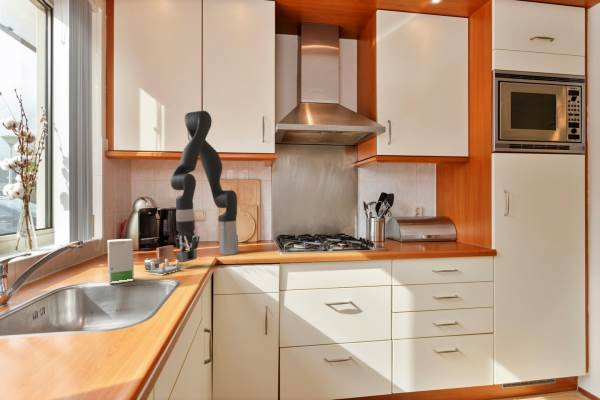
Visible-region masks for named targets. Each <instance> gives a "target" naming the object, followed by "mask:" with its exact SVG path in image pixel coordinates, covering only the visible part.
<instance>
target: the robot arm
mask: <svg viewBox="0 0 600 400" xmlns="http://www.w3.org/2000/svg"><path fill="white" fill-rule="evenodd" d="M212 121H213V120H212V117H211V114H210V113H209V112H208V111H206V110H198V111H191V112H187V113H186V114H185V115H184V124H185V127H186V129H187V132H188V134H189V136H190V138H191V140H189V142H188V143H187V144H186V146H185V147H184V148H183V151H182V153H181V156H180V161H179V163H178V165H177V166H176V169H175V170H174V171H173V173H172V175H171V178H170V186H171V188H172V189H173V190H175V191H183V193H182V195H179V196H177V197H175V210H176V211H175V218H176V219H175V222H176V231H177V232H178V233H177V235H174V236H173V239H174V243H175V245H176V249H177V250H179V251H180V252H182V251H186V250H188V258H189V260H190V261H192V260H191V259H193V258H194V250H197V249H198V246H199V242H200V238H201V237H200V236H199V235H195V232H194V231H195V229H196V228H195V227H196V225H195V223H196V221H195V212H194V201H193V200H194V196H195V192H196V186H197V180H196V178H195V176H194V175H193V174H191V172H192V173H193V172H194V171H195V170H196V167H197V163H198V160H200V162H201V165H202V168H203V170H204V172H205V175H206V179H207V181H208V183H209V187H210V192H211V195H212V200H213V202H214V205H215V207H217V208H219V209H225V212H223V213H222V214H219V215H218V218H217V221H218V225H217V226H218V245H219V247H218V248H219V249H218V250H219V251H218V252H219V255H221V256H230V255H231V256H232V255H236V254H238V253H239V235H238V233H237V217H238V216H237V215H238V196H237V193H236V191H234V190H232V189H230V190H223V188H222V186H221V176H222V173H223V162H222V159H221V158H220V155H219V153H218V152H217V150H216V149H215V148H214V147H213V146H212V145H211V144H210V143H209V142H208V141H207V140H206V138H207V136H208V134H209V132H210V129H211V127H212V123H213V122H212Z"/></svg>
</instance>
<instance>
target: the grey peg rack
mask: <svg viewBox="0 0 600 400" xmlns="http://www.w3.org/2000/svg"><path fill="white" fill-rule="evenodd" d="M174 250H175V249H174V245H172V244H171V245H170V244H169V245H165V246H160V247H156V258H150V257H146V259H144V260H143V262H144V263H143V265H144V267H145V266H151V262H154V264H155V265H158V264H159V265H161V264H162V263H165V259H169V263H171V262H174V261H175V251H174Z"/></svg>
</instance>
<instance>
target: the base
mask: <svg viewBox="0 0 600 400" xmlns="http://www.w3.org/2000/svg"><path fill="white" fill-rule="evenodd" d="M157 268H160V264H158V265H155V269H157ZM145 269H146V270H151V266H145V265H144V270H145Z"/></svg>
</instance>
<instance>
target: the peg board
mask: <svg viewBox="0 0 600 400" xmlns="http://www.w3.org/2000/svg"><path fill="white" fill-rule="evenodd" d="M160 265H161V266H160V267H159V268H157V269H155V264H154V262H151V270H149V271H148V273H149V272H150V273H158V274H164V273H169V272H173V271H176V270H180V269H181V270H182V266H180V262H179V260H177V259H175V265H170V262H169V259H165V263H162V264H160ZM181 270H180V271H181ZM173 273H174V272H173ZM169 274H170V273H169Z"/></svg>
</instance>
